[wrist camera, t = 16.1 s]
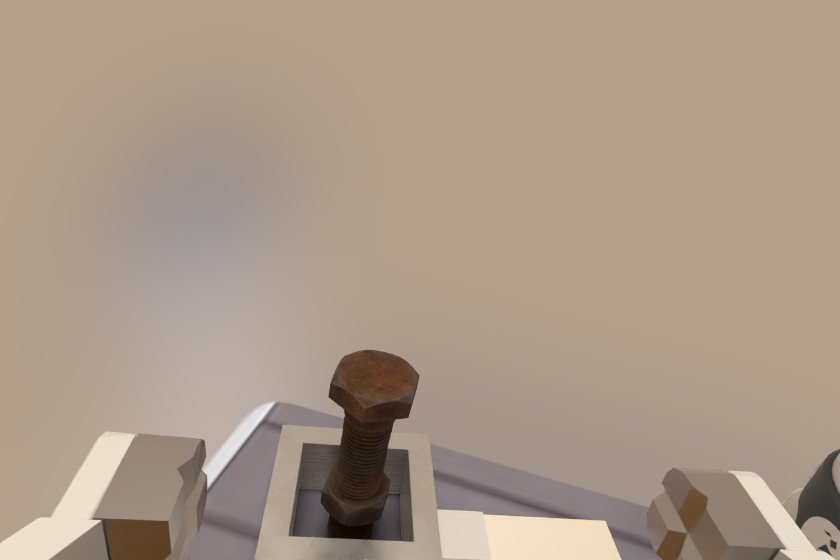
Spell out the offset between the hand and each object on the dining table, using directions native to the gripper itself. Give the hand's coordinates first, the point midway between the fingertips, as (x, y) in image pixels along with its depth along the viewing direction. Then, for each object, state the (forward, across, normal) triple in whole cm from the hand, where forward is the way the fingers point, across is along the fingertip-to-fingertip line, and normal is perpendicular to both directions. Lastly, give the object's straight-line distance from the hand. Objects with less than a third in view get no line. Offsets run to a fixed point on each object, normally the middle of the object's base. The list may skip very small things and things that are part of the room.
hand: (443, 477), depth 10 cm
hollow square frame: (+21, 0, +29) cm, 36 cm away
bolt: (+21, 0, +30) cm, 36 cm away
